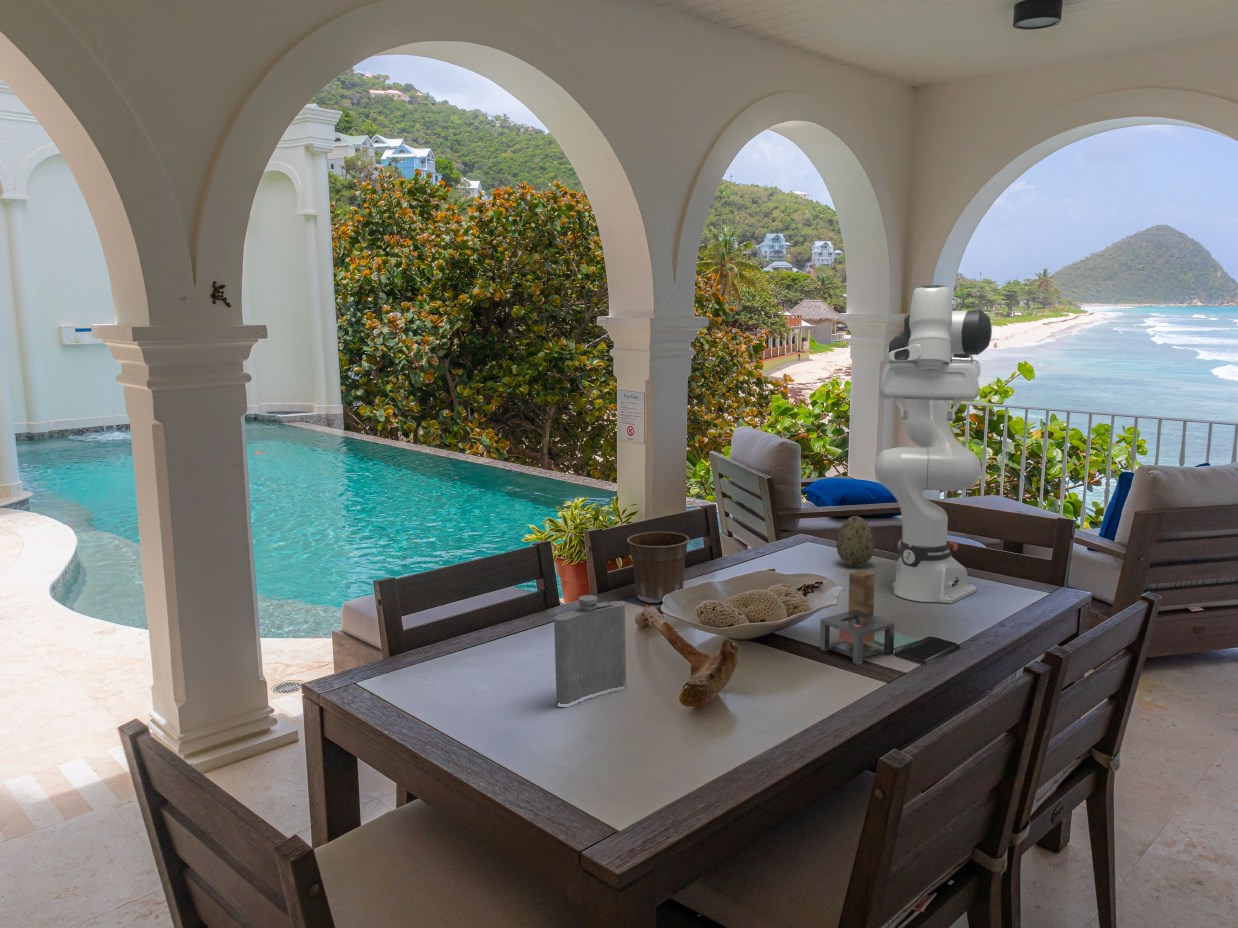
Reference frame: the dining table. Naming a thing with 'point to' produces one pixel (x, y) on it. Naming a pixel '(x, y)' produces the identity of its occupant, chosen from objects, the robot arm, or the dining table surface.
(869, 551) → the decorative egg
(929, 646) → the phone
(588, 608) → the hip flask
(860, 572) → the peg
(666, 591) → the plant pot
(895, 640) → the mat
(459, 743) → the dining table surface
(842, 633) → the salmon pink panel
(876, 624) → the frame
